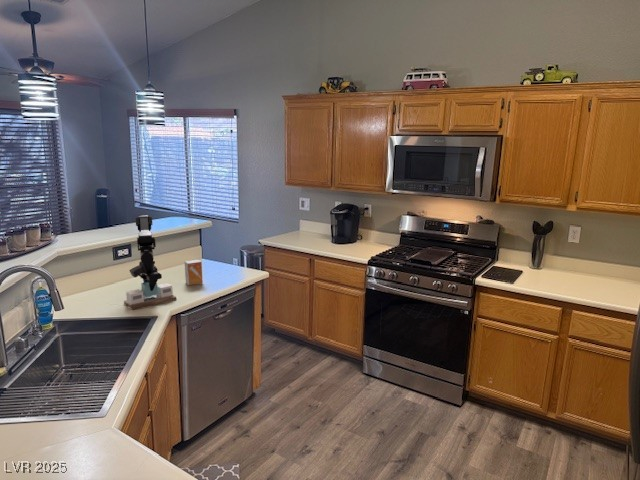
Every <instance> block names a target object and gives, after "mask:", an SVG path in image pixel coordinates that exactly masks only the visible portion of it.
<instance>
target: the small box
mask: <svg viewBox="0 0 640 480" xmlns="http://www.w3.org/2000/svg"><path fill="white" fill-rule="evenodd" d="M202 264H203V263H202V261H201V260H199V259H194V260H193V259H192V260H185V261H184V272H185V273H184V274H185V275H184V276H185V277H184V278H185V283H186V285H187V286H194V285H203V265H202Z"/></svg>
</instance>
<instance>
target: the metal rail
mask: <svg viewBox="0 0 640 480" xmlns="http://www.w3.org/2000/svg"><path fill="white" fill-rule="evenodd" d="M170 296H175V294H173V295H170ZM170 296H166V297H170ZM143 297H144V296H143ZM166 297H160V296H158V295H153V296H149V297H144V302H148V301H153V300H157V299H161V298H166ZM125 301H126V300H125ZM144 302H140V303H144ZM126 303H127V304H129V305H130V306H131V305H136V304H140V303H136V304H130V303H129V302H127V301H126Z"/></svg>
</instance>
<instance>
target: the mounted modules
mask: <svg viewBox="0 0 640 480" xmlns="http://www.w3.org/2000/svg"><path fill="white" fill-rule="evenodd" d="M157 288H158V294H157V295H158V296H160V297H166V296H170V295H174V294H173V285H172V284H170V283H168V282H166V283H161V284H157ZM125 294H126V295H125V297H126V300H127V302H129V303H130V304H136V303H140V302H144V298H143V297H144V295H143V292H142V289H141V290H140V289H132V290H129V291H125Z"/></svg>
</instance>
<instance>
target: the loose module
mask: <svg viewBox="0 0 640 480" xmlns="http://www.w3.org/2000/svg"><path fill="white" fill-rule="evenodd" d="M157 285H158V282H156V285H155V287H154V289H153V291H151V290H150V287H149V282H141V291H142V292H143V297H144V296H145V297H148V296H153V295H157V294H158V288H157Z"/></svg>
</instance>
